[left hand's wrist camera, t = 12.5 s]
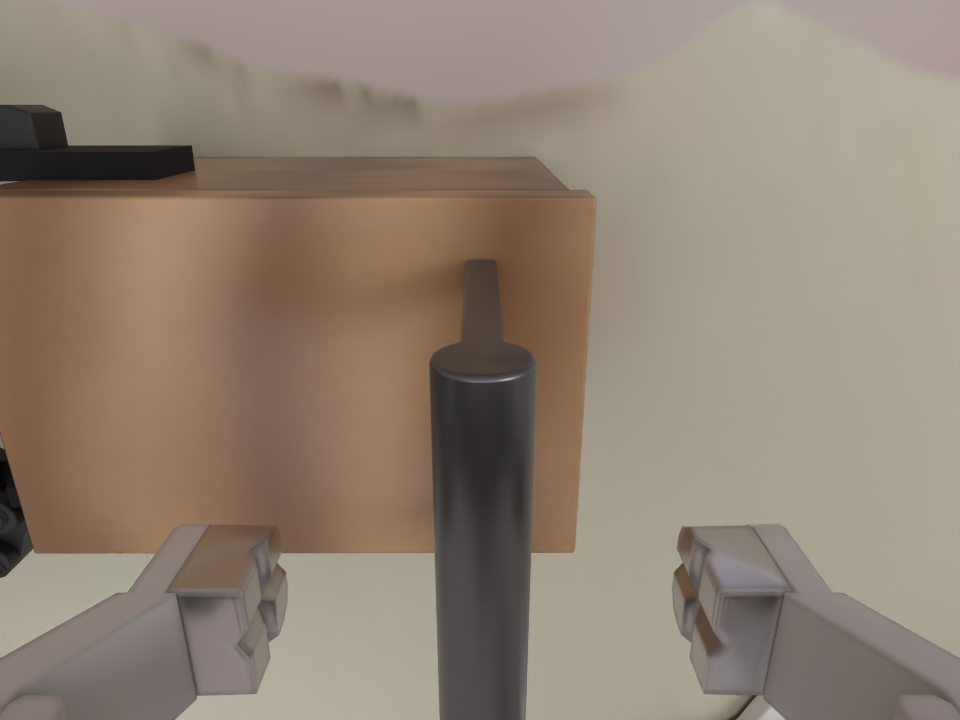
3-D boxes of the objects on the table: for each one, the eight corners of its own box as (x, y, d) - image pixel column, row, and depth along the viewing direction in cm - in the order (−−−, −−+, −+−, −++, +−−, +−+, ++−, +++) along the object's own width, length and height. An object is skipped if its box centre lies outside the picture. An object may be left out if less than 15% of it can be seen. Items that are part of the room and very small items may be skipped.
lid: (588, 189, 16) (699, 278, 8) (569, 527, 20) (633, 826, 11) (-32, 189, 16) (-547, 280, 8) (60, 527, 20) (-236, 828, 11)
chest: (537, 157, 25) (570, 189, 16) (530, 389, 29) (554, 525, 20) (155, 157, 25) (-30, 189, 16) (195, 389, 29) (61, 526, 20)
